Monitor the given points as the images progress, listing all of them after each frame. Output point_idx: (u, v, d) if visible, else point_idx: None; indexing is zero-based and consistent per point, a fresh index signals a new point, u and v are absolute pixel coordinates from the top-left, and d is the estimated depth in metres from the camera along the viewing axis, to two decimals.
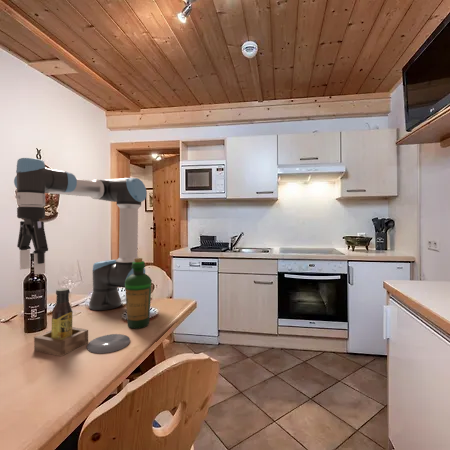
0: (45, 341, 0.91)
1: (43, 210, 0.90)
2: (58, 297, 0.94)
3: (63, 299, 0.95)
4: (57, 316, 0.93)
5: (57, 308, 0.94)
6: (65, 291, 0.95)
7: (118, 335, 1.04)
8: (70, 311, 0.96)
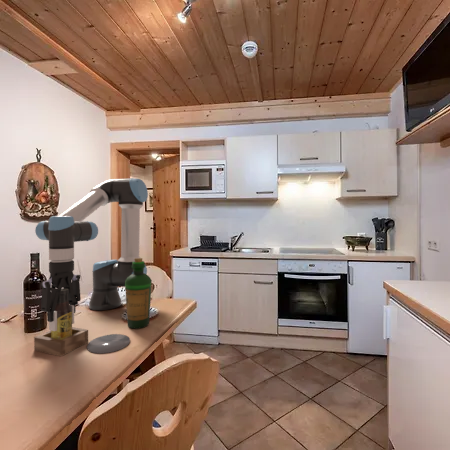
0: (45, 341, 0.91)
1: (60, 265, 0.92)
2: None
3: (62, 299, 0.94)
4: (57, 316, 0.93)
5: (56, 308, 0.93)
6: (64, 291, 0.95)
7: (118, 335, 1.04)
8: (70, 311, 0.96)
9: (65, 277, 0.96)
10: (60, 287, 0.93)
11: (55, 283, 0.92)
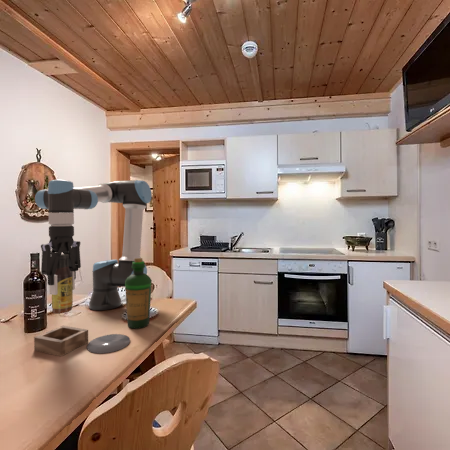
0: (45, 341, 0.91)
1: (60, 229, 0.92)
2: None
3: (62, 264, 0.94)
4: (57, 281, 0.93)
5: (56, 272, 0.93)
6: (64, 256, 0.95)
7: (118, 335, 1.04)
8: (70, 276, 0.96)
9: (65, 242, 0.95)
10: (60, 251, 0.93)
11: (55, 246, 0.92)
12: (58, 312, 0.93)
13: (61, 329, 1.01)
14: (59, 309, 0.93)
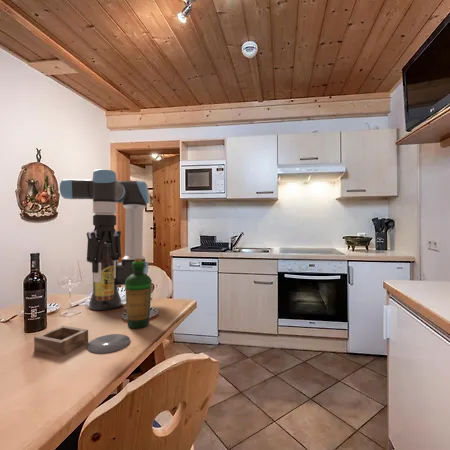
0: (45, 341, 0.91)
1: (104, 217, 0.93)
2: None
3: (106, 252, 0.96)
4: (101, 268, 0.94)
5: (100, 260, 0.95)
6: (107, 244, 0.96)
7: (118, 335, 1.04)
8: (112, 264, 0.97)
9: (108, 231, 0.97)
10: (104, 239, 0.95)
11: (99, 235, 0.94)
12: (101, 299, 0.94)
13: (61, 329, 1.01)
14: (102, 296, 0.94)
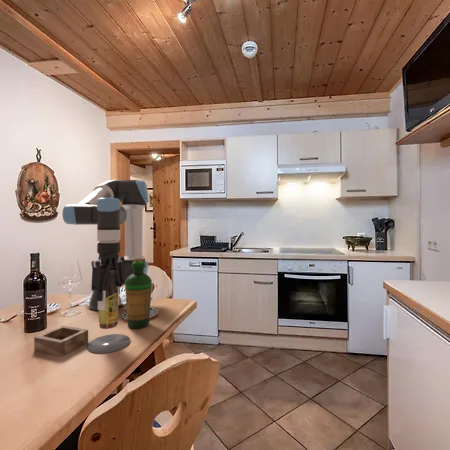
0: (45, 341, 0.91)
1: (109, 246, 0.94)
2: None
3: (110, 280, 0.96)
4: None
5: (104, 288, 0.95)
6: (112, 272, 0.97)
7: (118, 335, 1.04)
8: (116, 291, 0.97)
9: (112, 258, 0.97)
10: (108, 267, 0.95)
11: (104, 263, 0.94)
12: (106, 327, 0.95)
13: (61, 329, 1.01)
14: (107, 324, 0.95)
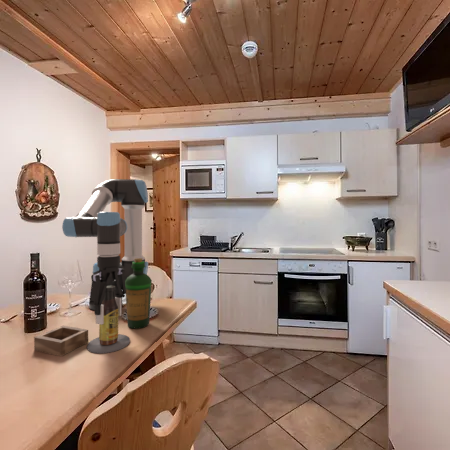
0: (45, 341, 0.91)
1: (109, 260, 0.94)
2: (106, 294, 0.96)
3: (110, 296, 0.97)
4: (105, 313, 0.95)
5: (105, 305, 0.95)
6: (112, 288, 0.97)
7: (118, 335, 1.04)
8: (117, 308, 0.98)
9: (112, 272, 0.98)
10: (108, 281, 0.95)
11: (104, 277, 0.94)
12: (106, 344, 0.95)
13: (61, 329, 1.01)
14: (107, 340, 0.95)
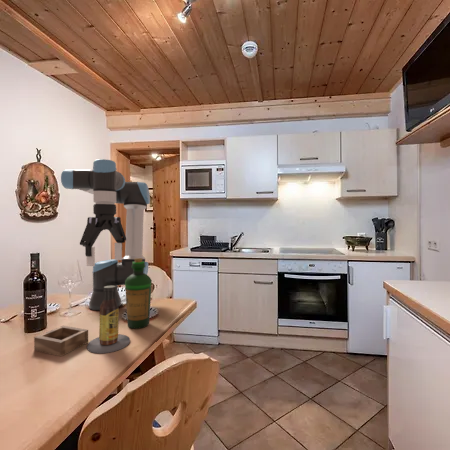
0: (45, 341, 0.91)
1: (105, 206, 0.95)
2: (106, 294, 0.96)
3: (111, 296, 0.97)
4: (106, 313, 0.95)
5: (105, 304, 0.96)
6: (112, 288, 0.97)
7: (118, 335, 1.04)
8: (117, 308, 0.98)
9: (108, 221, 0.99)
10: (103, 227, 0.96)
11: (100, 223, 0.95)
12: (106, 344, 0.95)
13: (61, 329, 1.01)
14: (107, 340, 0.95)
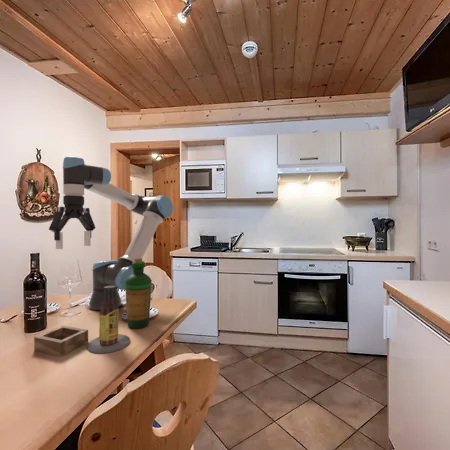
0: (45, 341, 0.91)
1: (73, 197, 1.09)
2: (106, 294, 0.96)
3: (110, 296, 0.97)
4: (106, 313, 0.95)
5: (105, 304, 0.96)
6: (112, 288, 0.97)
7: (118, 335, 1.04)
8: (117, 308, 0.98)
9: (76, 210, 1.13)
10: (71, 215, 1.10)
11: (68, 212, 1.09)
12: (106, 344, 0.95)
13: (61, 329, 1.01)
14: (107, 340, 0.95)
